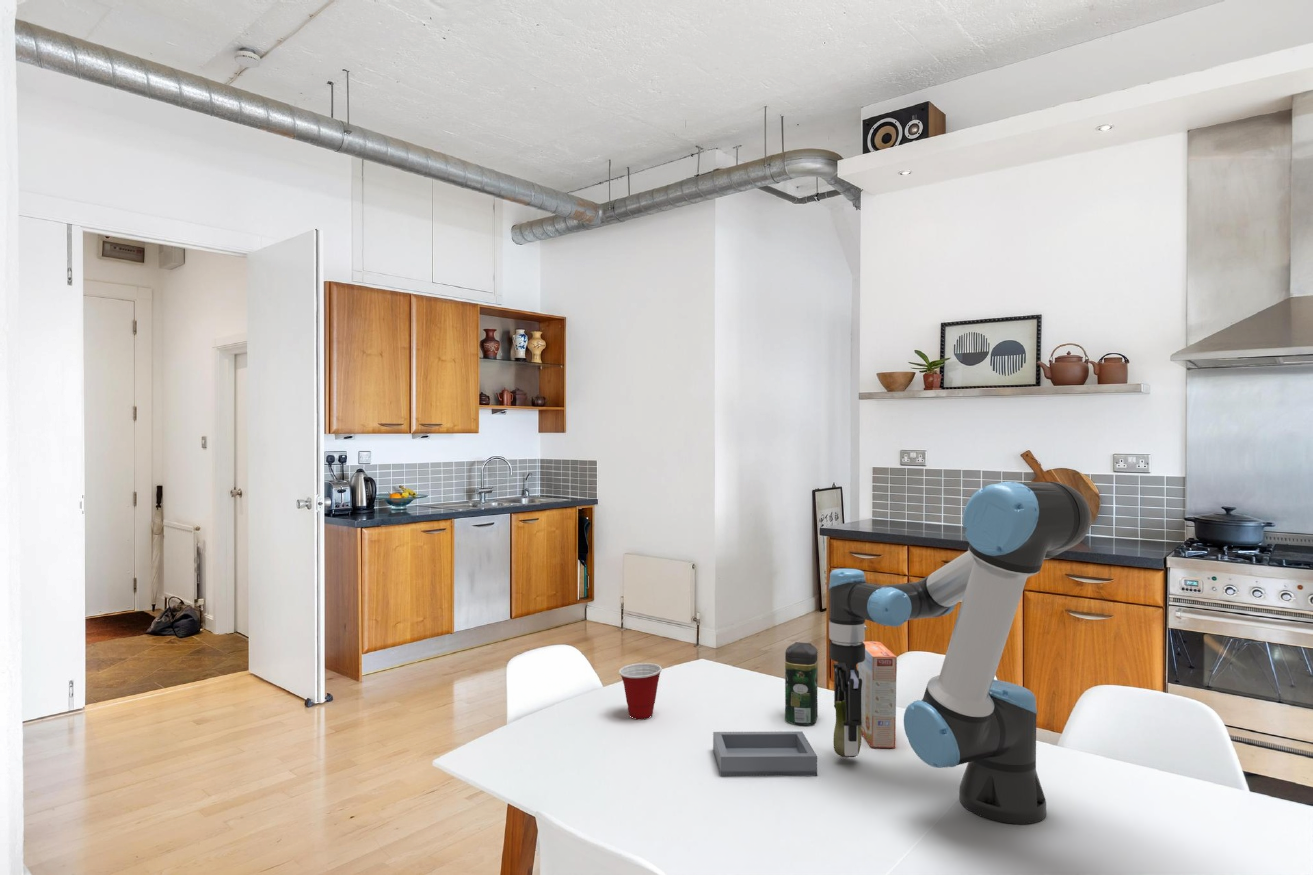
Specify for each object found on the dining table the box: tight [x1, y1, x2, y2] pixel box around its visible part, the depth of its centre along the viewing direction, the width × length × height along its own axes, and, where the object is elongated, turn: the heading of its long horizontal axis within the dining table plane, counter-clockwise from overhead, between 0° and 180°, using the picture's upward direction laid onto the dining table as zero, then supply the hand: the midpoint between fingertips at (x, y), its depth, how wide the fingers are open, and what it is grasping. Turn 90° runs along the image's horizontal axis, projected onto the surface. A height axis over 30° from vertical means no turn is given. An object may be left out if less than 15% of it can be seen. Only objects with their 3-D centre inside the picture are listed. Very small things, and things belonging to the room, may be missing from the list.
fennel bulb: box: [832, 700, 862, 758], centre depth 170 cm, size 6×5×12 cm
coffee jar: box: [784, 641, 819, 726], centre depth 196 cm, size 10×8×19 cm
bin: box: [712, 730, 818, 777], centre depth 169 cm, size 14×20×4 cm
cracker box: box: [857, 640, 898, 749], centre depth 184 cm, size 14×6×21 cm, turn 179°
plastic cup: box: [618, 662, 663, 720], centre depth 197 cm, size 11×11×12 cm
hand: (847, 750), depth 169 cm, fingers closed on fennel bulb, 5 cm apart
